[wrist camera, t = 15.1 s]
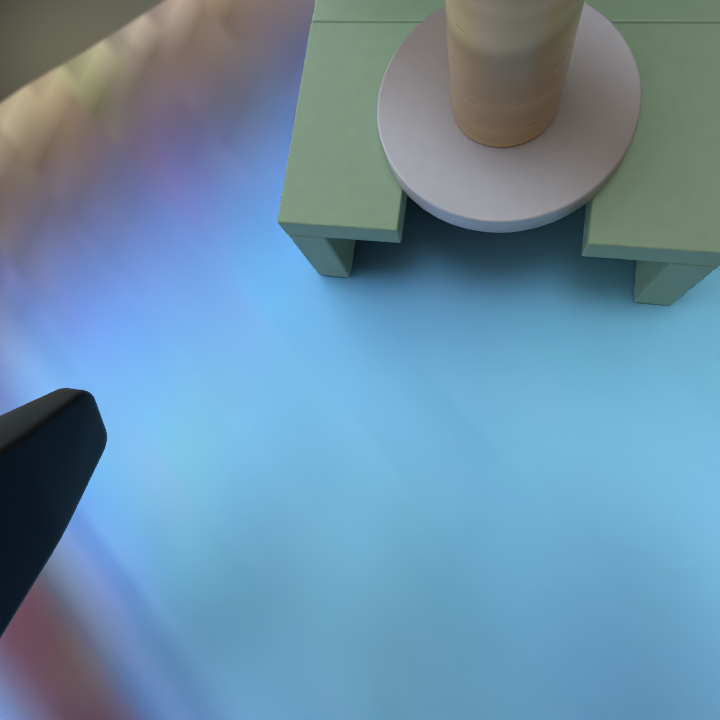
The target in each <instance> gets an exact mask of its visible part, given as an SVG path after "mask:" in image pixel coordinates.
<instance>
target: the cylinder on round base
mask: <svg viewBox="0 0 720 720" xmlns="http://www.w3.org/2000/svg"><path fill="white" fill-rule="evenodd" d="M584 1H585V0H445V6H443V7H441V8H440V9H438V10H437V11H435V12H434V13H432V14H431V15H429V16H428V17H427V18H426V19H424V20H423V21H422V22H421V23H420V24H418V25H417V26H416V27H415V28H414V29H413V30H412V31H411V32H410V34H409V35H408V36H407V37H406V38H405V39H404V41H403V42H402V43H401V45H400V46H399V47H398V49H397V50H396V52H395V54H394V55H393V57H392V59H391V61H390V62H389V64H388V67H387V69H386V72H385V74H384V76H383V79H382V83H381V87H380V90H379V96H378V104H377V124H378V130H379V137H380V140H381V144H382V148H383V151H384V154H385V157H386V161H387V164H388V166H389V168H390V170H391V172H392V174H393V176H394V178H395V179H396V180H397V182H398V183H399V185H400V186H401V188H402V189H403V190H404V191H405V192H406V194H407V195H408V196H409V197H410V198H411V199H412V200H413V201H414V202H416V203H417V204H418V205H419V206H420V207H422V208H423V209H424V210H426V211H427V212H429V213H430V214H432V215H434V216H435V217H437V218H439V219H441V220H443V221H446V222H448V223H450V224H452V225H456V226H459V227H462V228H466V229H470V230H476V231H482V232H496V233H504V232H517V231H523V230H528V229H533V228H537V227H540V226H543V225H546V224H549V223H552V222H554V221H557V220H559V219H561V218H563V217H565V216H567V215H569V214H571V213H572V212H574V211H576V210H577V209H579V208H580V207H582V206H583V205H585V204H586V203H587V202H588V201H590V200H591V199H592V198H593V197H594V196H596V195H597V194H598V193H599V192H600V191H601V189H602V188H603V187H604V186H605V185H606V184H607V183H608V182H609V181H610V179H611V178H612V176H613V175H614V174H615V172H616V171H617V170H618V168H619V166H620V164H621V162H622V160H623V158H624V157H625V155H626V153H627V151H628V149H629V147H630V145H631V143H632V140H633V137H634V135H635V132H636V129H637V126H638V122H639V117H640V112H641V101H642V90H641V80H640V75H639V71H638V67H637V63H636V61H635V58H634V56H633V54H632V51H631V49H630V47H629V45H628V44H627V42H626V40H625V39H624V37H623V36H622V34H621V33H620V32H619V31H618V29H617V28H616V27H615V26H614V25H613V24H612V22H611V21H609V20H608V19H607V18H606V17H605V16H604V15H603V14H601V13H600V12H599V11H598V10H596V9H595V8H593V7H592V6H590V5H589V4H587V3H585V2H584Z"/></svg>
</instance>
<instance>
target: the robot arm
mask: <svg viewBox="0 0 720 720" xmlns="http://www.w3.org/2000/svg"><path fill="white" fill-rule="evenodd" d="M106 442H107V433H106V429H105V426H104V423H103V421H102V418H101V415H100V412H99V409H98V407H97V404H96V401H95V399H94V396H93V395H92V394H91V393H90V392H88V391H85V390H78V389H70V388H62V389H58V390H56V391H54V392H51V393H49V394H47V395H45V396H43V397H41V398H38V399H36V400H34V401H32V402H30V403H27V404H25V405H23V406H21V407H19V408H16V409H14V410H12V411H10V412H8V413H6V414H3V415H1V416H0V638H1V636H2V635H3V633H4V631H5V630H6V628H7V626H8V625H9V623H10V622H11V620H12V618H13V617H14V615H15V613H16V612H17V610H18V608H19V607H20V605H21V604H22V602H23V600H24V599H25V597H26V595H27V594H28V592H29V590H30V589H31V587H32V586H33V584H34V582H35V581H36V579H37V577H38V576H39V574H40V573H41V571H42V569H43V568H44V566H45V564H46V563H47V561H48V559H49V558H50V556H51V555H52V553H53V551H54V549H55V548H56V546H57V544H58V543H59V541H60V539H61V537H62V535H63V533H64V532H65V530H66V528H67V526H68V524H69V522H70V520H71V518H72V516H73V514H74V512H75V509H76V507H77V505H78V503H79V501H80V499H81V497H82V495H83V493H84V491H85V489H86V487H87V485H88V482H89V480H90V478H91V476H92V474H93V472H94V470H95V468H96V466H97V464H98V462H99V460H100V458H101V456H102V453H103V451H104V449H105V446H106Z"/></svg>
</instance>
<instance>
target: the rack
mask: <svg viewBox="0 0 720 720" xmlns="http://www.w3.org/2000/svg"><path fill="white" fill-rule="evenodd" d="M584 2H585V3H587V4H589V5H590V6H592V7H593V8H595V9H596V10H598V11H599V12H600V13H601V14H603V15H604V16H605V17H606V18H607V19H608V20H609V21H611V22H612V24H613V25H614V26H615V27H616V28H617V29H618V31H619V32H620V33H621V34H622V36H623V37H624V39H625V40H626V42H627V44H628V45H629V47H630V49H631V51H632V54H633V56H634V58H635V61H636V63H637V67H638V71H639V75H640V80H641V90H642V101H641V112H640V117H639V122H638V126H637V129H636V132H635V135H634V137H633V140H632V143H631V145H630V147H629V149H628V151H627V153H626V155H625V157H624V158H623V160H622V162H621V164H620V166H619V168H618V170H617V171H616V172H615V174H614V175H613V176H612V178H611V179H610V181H609V182H608V183H607V184H606V185H605V186H604V187H603V188H602V189H601V191H600V192H599V193H598V194H597V195H596V196H594V197H593V198H592V199H591V200H590V201H588V202H587V203H586V210H585V221H584V232H583V243H582V256H587V257H601V258H615V259H628V260H636V270H635V282H634V295H633V300H634V302H638V303H649V304H661V305H671V304H673V303H674V302H675V301H676V300H678V299H679V298H680V297H681V296H683V295H684V294H685V293H686V292H687V291H689V290H690V289H691V288H692V287H694V286H695V285H696V284H697V283H699V282H700V281H701V280H702V279H703V278H705V277H706V276H707V275H708V274H710V273H711V272H712V271H713V270H715V269H716V268H717V267H718V266H720V0H585V1H584ZM443 6H445V0H315V6H314V12H313V18H312V23H311V27H310V33H309V38H308V44H307V50H306V56H305V62H304V68H303V74H302V80H301V85H300V91H299V97H298V103H297V109H296V115H295V121H294V127H293V132H292V138H291V144H290V150H289V156H288V162H287V168H286V174H285V179H284V185H283V191H282V197H281V203H280V209H279V215H278V221H277V222H278V223H279V225H280V226H281V227H282V229H283V230H284V231H285V232H286V234H288V235H289V237H290V238H291V239H292V240H293V242H294V243H295V244H296V245H297V247H298V248H299V249H300V251H301V252H302V253H303V254H304V256H305V257H306V258H307V260H308V261H309V262H310V263H311V265H312V266H313V267H314V268H315V270H316V271H317V272H318V274H320V275H326V276H337V277H350V275H351V269H352V262H353V255H354V248H355V242H356V240H368V241H381V242H395V243H400V242H401V239H402V232H403V224H404V217H405V210H406V203H407V194H406V192H405V191H404V190H403V189H402V188H401V186H400V185H399V183H398V182H397V180H396V179H395V178H394V176H393V174H392V172H391V170H390V168H389V166H388V164H387V161H386V157H385V154H384V151H383V148H382V144H381V140H380V137H379V130H378V124H377V104H378V96H379V90H380V87H381V83H382V79H383V76H384V74H385V72H386V69H387V67H388V64H389V62H390V61H391V59H392V57H393V55H394V54H395V52H396V50H397V49H398V47H399V46H400V45H401V43H402V42H403V41H404V39H405V38H406V37H407V36H408V35H409V34H410V32H411V31H412V30H413V29H414V28H415V27H416V26H417V25H418V24H420V23H421V22H422V21H423V20H424V19H426V18H427V17H428V16H429V15H431V14H432V13H434V12H435V11H437V10H438V9H440V8H441V7H443Z"/></svg>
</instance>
